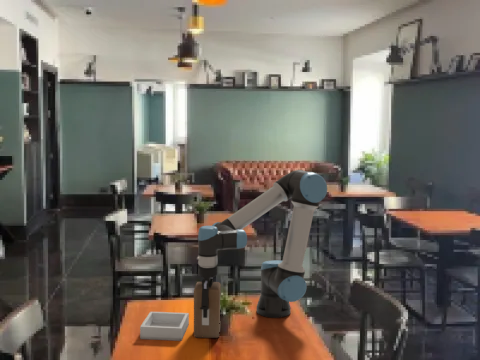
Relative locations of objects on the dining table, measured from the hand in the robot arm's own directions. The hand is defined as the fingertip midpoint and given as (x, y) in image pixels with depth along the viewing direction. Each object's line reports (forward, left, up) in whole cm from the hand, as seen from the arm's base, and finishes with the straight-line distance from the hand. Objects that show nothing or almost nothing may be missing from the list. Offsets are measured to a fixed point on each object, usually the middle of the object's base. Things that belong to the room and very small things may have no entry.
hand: (207, 319), depth 215 cm
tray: (+17, 0, -6) cm, 18 cm away
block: (0, 0, -6) cm, 6 cm away
